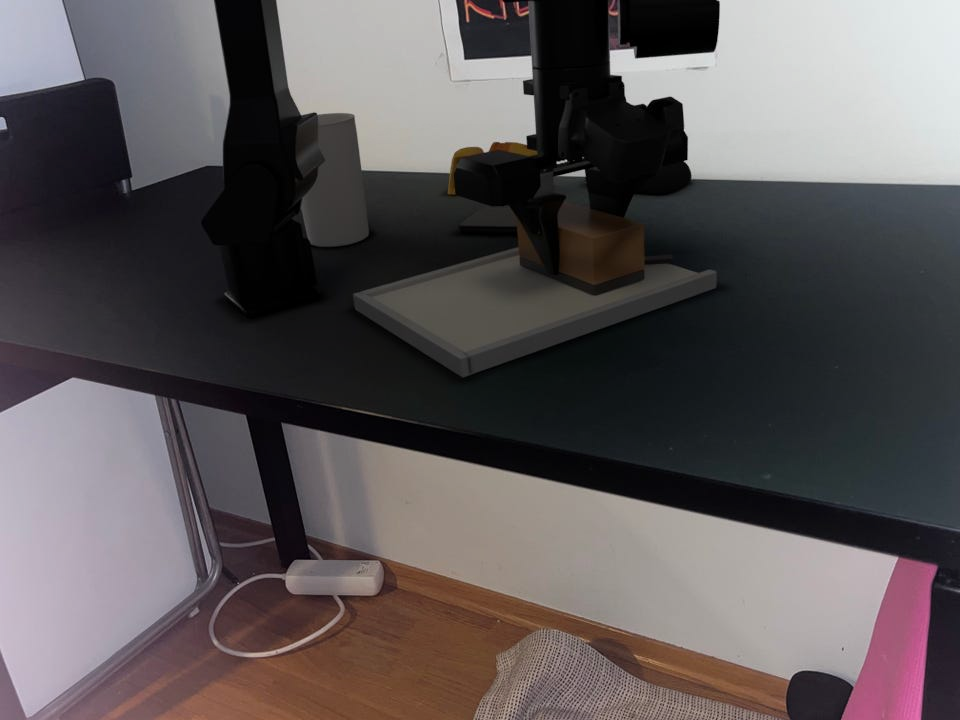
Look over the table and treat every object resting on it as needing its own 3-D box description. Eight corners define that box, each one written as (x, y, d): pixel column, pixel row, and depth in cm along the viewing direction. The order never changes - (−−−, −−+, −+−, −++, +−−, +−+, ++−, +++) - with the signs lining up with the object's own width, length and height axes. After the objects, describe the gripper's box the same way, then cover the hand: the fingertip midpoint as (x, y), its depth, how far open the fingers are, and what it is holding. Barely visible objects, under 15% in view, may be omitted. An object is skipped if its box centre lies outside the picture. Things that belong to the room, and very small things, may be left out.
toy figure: (555, 184, 103) (459, 183, 107) (553, 136, 100) (456, 137, 104) (543, 196, 98) (444, 194, 102) (541, 146, 96) (440, 147, 100)
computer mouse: (606, 173, 105) (605, 139, 103) (698, 181, 98) (699, 145, 96) (572, 188, 100) (570, 153, 98) (666, 197, 93) (666, 160, 91)
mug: (385, 231, 90) (368, 113, 85) (344, 250, 85) (324, 126, 80) (311, 224, 95) (291, 112, 90) (268, 242, 90) (245, 125, 85)
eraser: (594, 295, 65) (592, 238, 64) (519, 265, 73) (515, 213, 71) (645, 279, 68) (644, 223, 66) (566, 251, 76) (564, 200, 74)
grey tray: (462, 378, 57) (460, 358, 56) (354, 309, 70) (352, 293, 70) (716, 288, 68) (717, 271, 67) (581, 243, 81) (581, 229, 80)
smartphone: (481, 206, 92) (620, 207, 87) (482, 214, 93) (620, 216, 87) (455, 225, 87) (602, 227, 81) (456, 234, 87) (603, 237, 81)
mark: (673, 263, 71) (673, 258, 71) (623, 266, 71) (623, 261, 71) (671, 259, 72) (671, 254, 71) (622, 262, 72) (622, 257, 72)
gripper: (529, 90, 53) (544, 325, 60) (745, 51, 62) (737, 261, 68) (440, 79, 62) (461, 285, 69) (639, 47, 71) (641, 233, 77)
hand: (579, 266), depth 70 cm, fingers closed on eraser, 5 cm apart
